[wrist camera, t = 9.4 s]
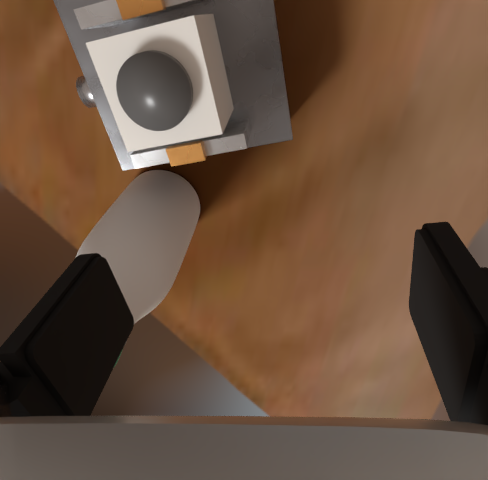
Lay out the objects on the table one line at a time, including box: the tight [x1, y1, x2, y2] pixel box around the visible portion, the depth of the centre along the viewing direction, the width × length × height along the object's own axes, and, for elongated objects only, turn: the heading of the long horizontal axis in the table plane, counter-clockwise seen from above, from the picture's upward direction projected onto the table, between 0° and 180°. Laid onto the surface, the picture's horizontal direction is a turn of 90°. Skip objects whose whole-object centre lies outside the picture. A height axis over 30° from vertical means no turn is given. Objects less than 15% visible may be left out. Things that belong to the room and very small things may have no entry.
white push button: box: [86, 14, 234, 152], centre depth 22 cm, size 6×6×7 cm
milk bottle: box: [76, 170, 200, 367], centre depth 30 cm, size 8×8×20 cm
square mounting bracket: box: [54, 0, 293, 170], centre depth 26 cm, size 16×12×11 cm
